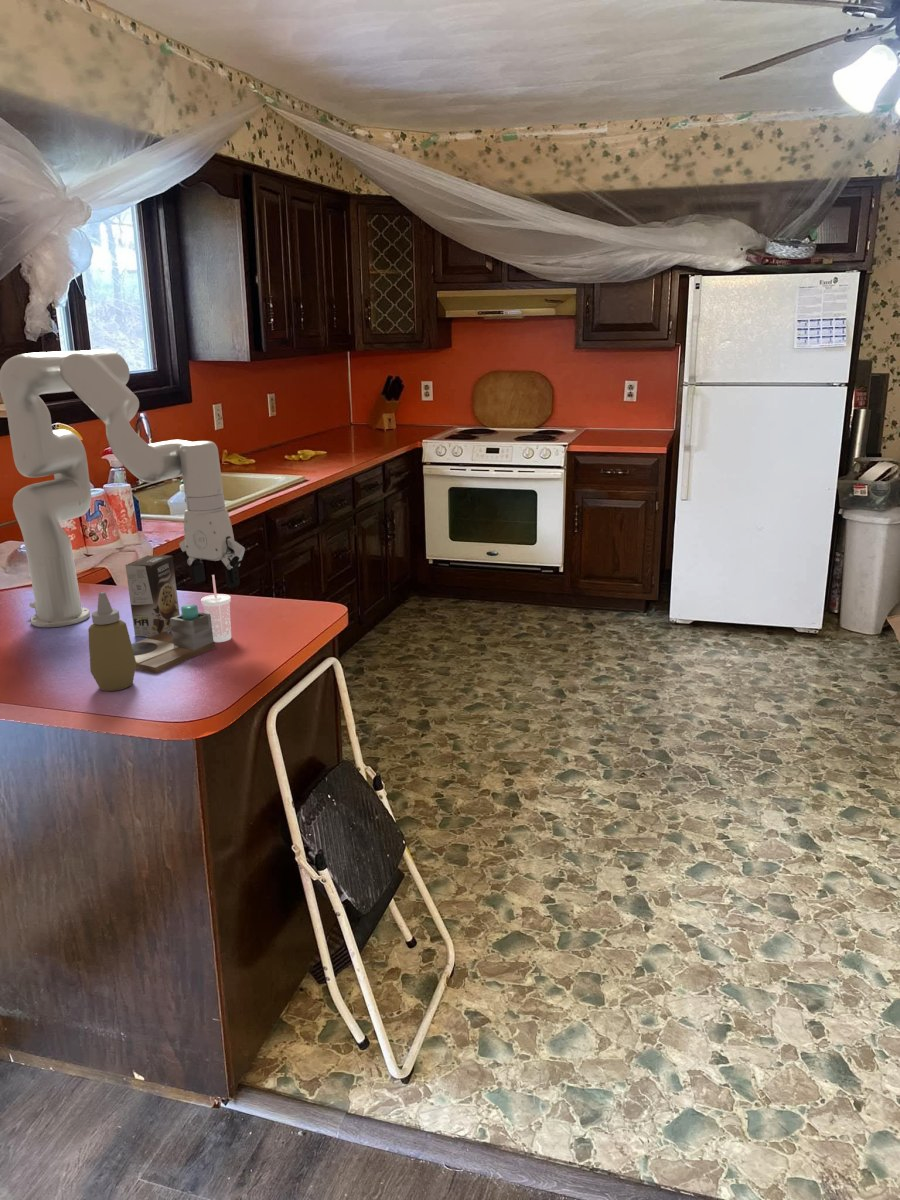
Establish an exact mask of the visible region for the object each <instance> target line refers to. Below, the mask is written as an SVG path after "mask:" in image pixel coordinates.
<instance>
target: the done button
mask: <svg viewBox="0 0 900 1200" xmlns="http://www.w3.org/2000/svg"><path fill="white" fill-rule="evenodd" d="M180 609H181V610H180V611H181V614H182V619H184V620H193V619H196V618H198V617H199V615H198V612H199V608H198V605H197V604H186V605H183V606H181V607H180Z"/></svg>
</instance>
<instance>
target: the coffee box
mask: <svg viewBox="0 0 900 1200" xmlns="http://www.w3.org/2000/svg"><path fill="white" fill-rule="evenodd" d="M174 566H175V565H174V558H173V555H167V554H166V555H165V554H160V555H146V556H143V557H141V558H139V559H136V560H133V561H132V562H129V563H128V564H125V571H126V579H127V585H128V586H127V587H128V595H129V602H130V610H131V617H132V625H133V632H134V636H135V637H145V638H149V637H151V636H154V635H157V634H159V633H162V632H167V633H170V632H172V629H171V621H170V618H173V617H176V616H178V615H181V614H180V605H179V599H178V592H177V584H176V574H175V567H174ZM169 631H170V632H169Z"/></svg>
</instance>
